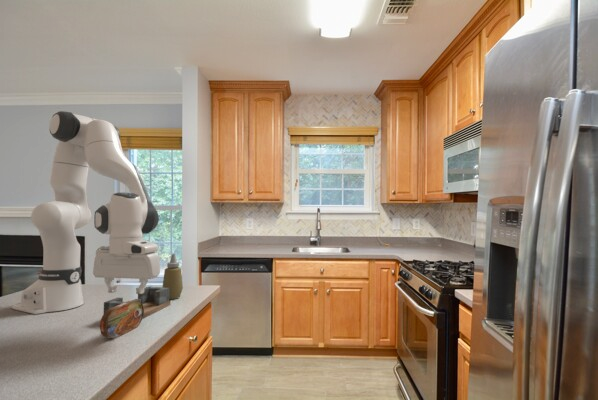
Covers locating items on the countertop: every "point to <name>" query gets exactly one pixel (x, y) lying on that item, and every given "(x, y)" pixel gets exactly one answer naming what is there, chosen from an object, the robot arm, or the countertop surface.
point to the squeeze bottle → (173, 278)
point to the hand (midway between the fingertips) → (126, 292)
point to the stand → (146, 300)
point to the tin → (121, 319)
